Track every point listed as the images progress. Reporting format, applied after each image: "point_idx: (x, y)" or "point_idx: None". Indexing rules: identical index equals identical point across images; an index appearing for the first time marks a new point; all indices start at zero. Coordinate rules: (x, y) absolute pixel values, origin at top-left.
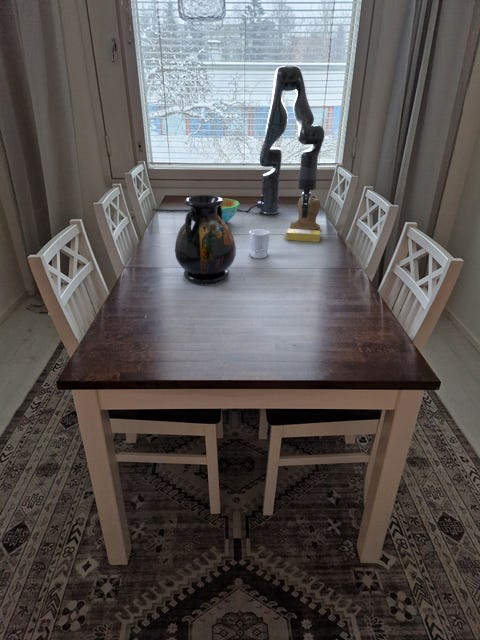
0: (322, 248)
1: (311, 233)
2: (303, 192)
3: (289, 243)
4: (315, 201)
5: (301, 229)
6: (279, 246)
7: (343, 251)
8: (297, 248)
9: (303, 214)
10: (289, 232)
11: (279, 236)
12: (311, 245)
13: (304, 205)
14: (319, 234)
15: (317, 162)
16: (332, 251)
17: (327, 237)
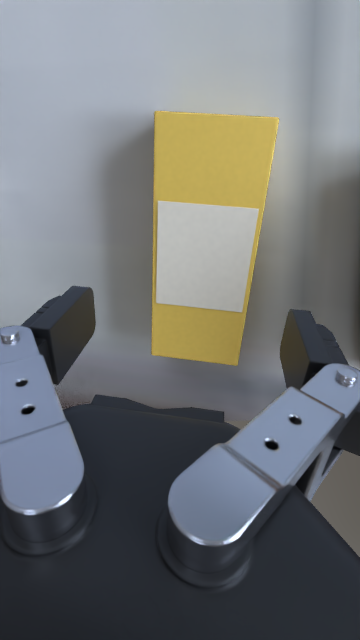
0: None
1: (164, 309)
2: (207, 567)
3: (100, 145)
4: None
5: (248, 248)
6: (17, 63)
7: None
8: (22, 201)
9: (40, 312)
10: (162, 141)
11: (258, 45)
12: (97, 285)
13: (304, 369)
14: (151, 352)
15: None
16: None
17: (246, 378)
